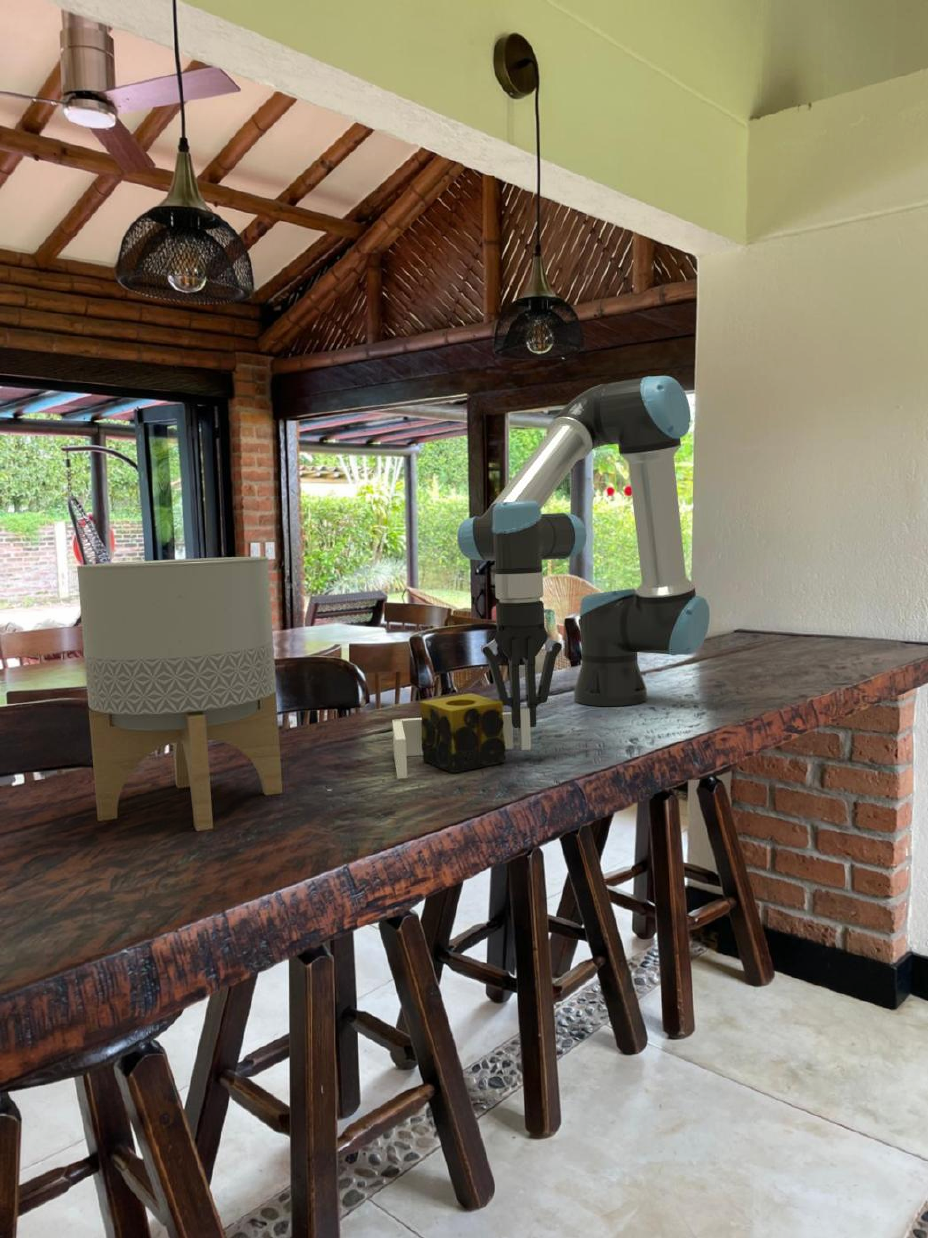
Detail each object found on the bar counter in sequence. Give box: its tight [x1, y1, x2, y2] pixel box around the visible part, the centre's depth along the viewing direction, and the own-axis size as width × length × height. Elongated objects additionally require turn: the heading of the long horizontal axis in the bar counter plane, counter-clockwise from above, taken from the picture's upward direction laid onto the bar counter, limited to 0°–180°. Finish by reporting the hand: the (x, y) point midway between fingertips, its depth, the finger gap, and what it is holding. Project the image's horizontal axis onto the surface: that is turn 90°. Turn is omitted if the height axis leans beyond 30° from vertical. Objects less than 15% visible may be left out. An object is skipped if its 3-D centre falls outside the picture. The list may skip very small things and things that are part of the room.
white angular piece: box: [391, 711, 514, 780], centre depth 144 cm, size 20×15×6 cm
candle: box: [419, 692, 507, 774], centre depth 143 cm, size 10×10×10 cm
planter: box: [76, 556, 283, 832], centre depth 125 cm, size 25×25×34 cm
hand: (524, 747), depth 143 cm, fingers closed
